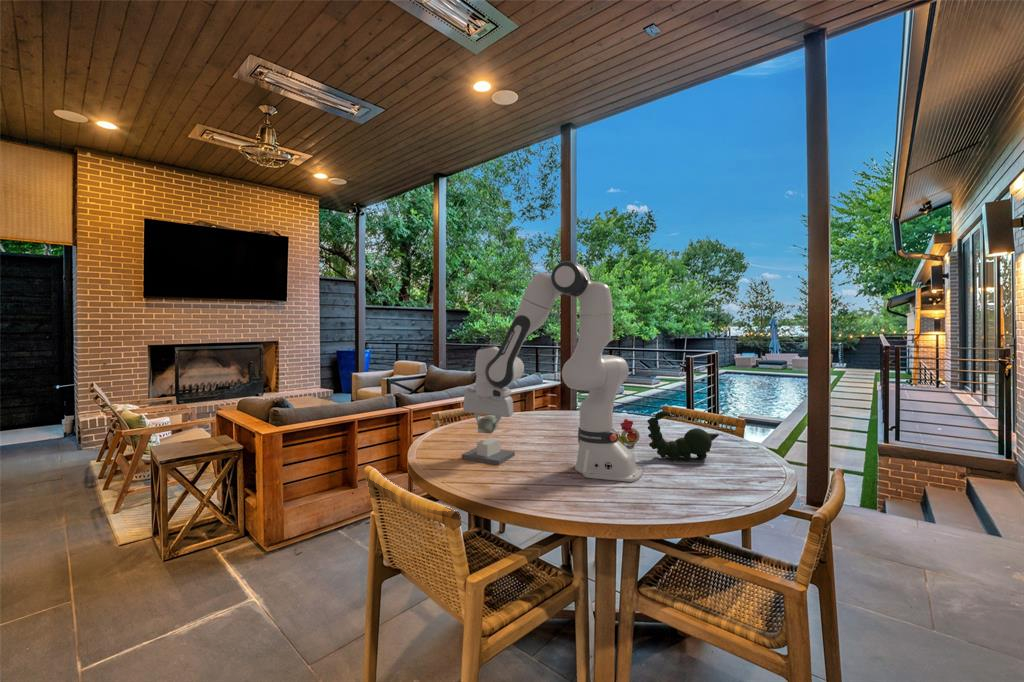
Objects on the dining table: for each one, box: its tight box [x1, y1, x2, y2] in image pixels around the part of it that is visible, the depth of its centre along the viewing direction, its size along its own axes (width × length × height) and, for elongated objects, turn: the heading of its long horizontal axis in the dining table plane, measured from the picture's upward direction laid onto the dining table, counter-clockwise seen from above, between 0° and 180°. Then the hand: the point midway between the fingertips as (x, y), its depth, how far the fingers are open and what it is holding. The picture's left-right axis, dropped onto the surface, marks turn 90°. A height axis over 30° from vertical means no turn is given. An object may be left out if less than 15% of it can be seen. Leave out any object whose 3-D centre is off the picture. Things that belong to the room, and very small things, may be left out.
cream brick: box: [476, 437, 501, 457], centre depth 167 cm, size 5×8×4 cm, turn 146°
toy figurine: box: [646, 410, 720, 462], centre depth 162 cm, size 9×19×25 cm
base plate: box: [461, 446, 516, 466], centre depth 167 cm, size 16×12×2 cm
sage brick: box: [477, 415, 498, 434], centre depth 166 cm, size 5×8×4 cm, turn 165°
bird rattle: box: [618, 418, 640, 447], centre depth 179 cm, size 6×11×9 cm
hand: (487, 426), depth 166 cm, fingers closed on sage brick, 6 cm apart
